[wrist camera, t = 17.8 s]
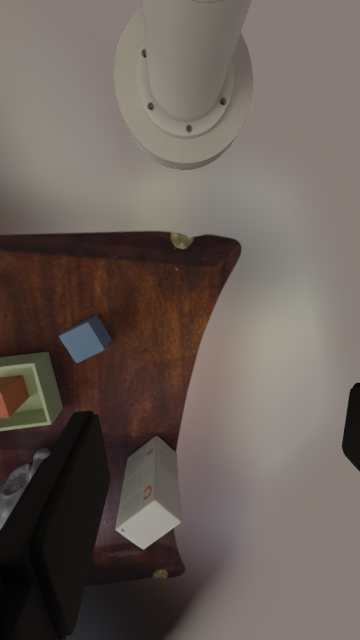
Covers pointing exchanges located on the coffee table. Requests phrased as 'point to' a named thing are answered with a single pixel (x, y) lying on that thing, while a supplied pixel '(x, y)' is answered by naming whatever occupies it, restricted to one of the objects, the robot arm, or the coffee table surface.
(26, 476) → the ornament
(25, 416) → the sage bin
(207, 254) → the coffee table surface
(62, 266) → the coffee table surface
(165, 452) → the small box
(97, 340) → the blue block
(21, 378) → the terracotta block
